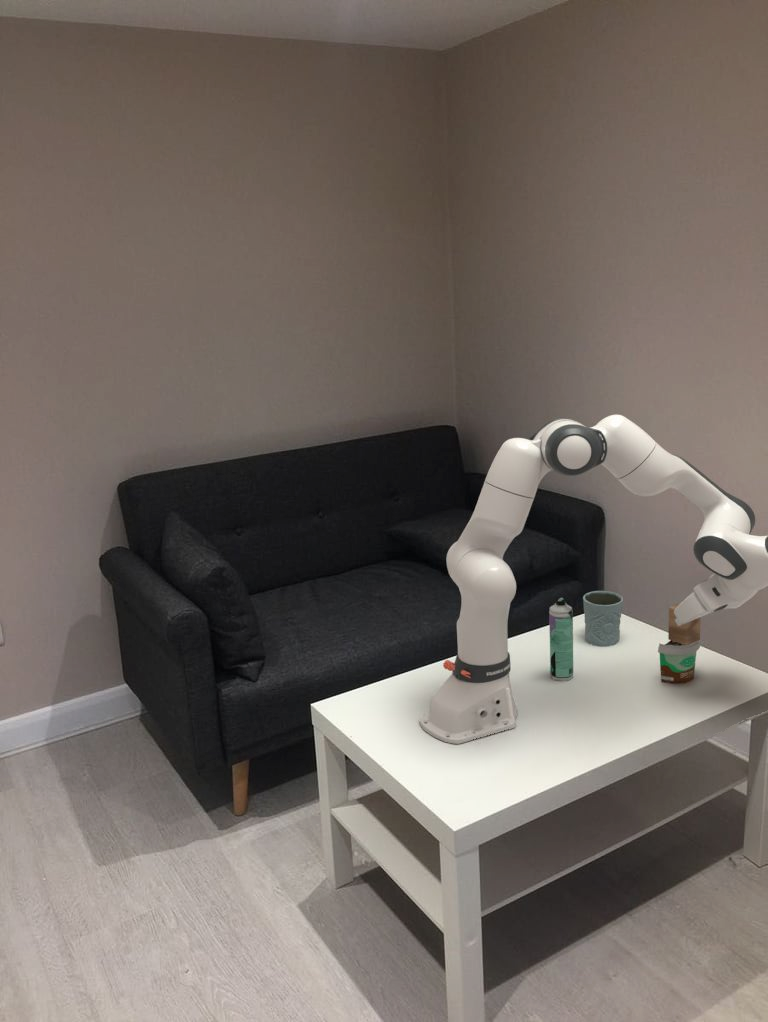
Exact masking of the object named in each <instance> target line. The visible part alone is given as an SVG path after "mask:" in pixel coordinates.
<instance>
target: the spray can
mask: <svg viewBox="0 0 768 1022" xmlns="http://www.w3.org/2000/svg"><path fill="white" fill-rule="evenodd" d="M548 612H549V613H548V614H549V615H548V616H549V617H548V619H549V663H550V664H549V665H550V668H549V669H550V670H549V671H550V673H549V674H550V678H551V679H552V680H553V681H558V682H559V681H560V682H567V681H569V680H572V679H573V678H574V627H573V626H574V621H573V620H574V618H573V615H574V613H573V607H572V606H570V605H569V604H567V602H566V601H565V598H564V597H557V599H556V602H554V604H553V605H551V606H550V607H549V611H548Z"/></svg>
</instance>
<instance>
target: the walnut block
mask: <svg viewBox="0 0 768 1022" xmlns="http://www.w3.org/2000/svg"><path fill="white" fill-rule="evenodd" d="M680 603H681V602H679V603H677V604H675V605H672V606H669V607H668V640H669V641H670V640H672V641H674V642H677V643H680V644H683V645H685V646H687V645H689V644H691V643H694V642H696V641H698V640H699V641H700V640H701V619H702V617H699V618H697V619H695V620H692V621H690V622H688V623H686V624H683V625H681V626H678V625H677V623H676V622H675V619H676V618H677V617H676V616H675V614H674V610H675V608H676V607H677V606H678V605H679V604H680Z"/></svg>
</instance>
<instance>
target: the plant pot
mask: <svg viewBox="0 0 768 1022" xmlns="http://www.w3.org/2000/svg"><path fill="white" fill-rule="evenodd" d="M582 600H583V602H582V603H583V613H584V634H585V641H586V642H587V643H588V644H589V643H590V645H591V644H592V646H595V645H596V647H611V646H610V645H612V646H615V645H616V643H617V642H618V643H619V642H620V631H621V630H620V627H621V618H622V612H623V611H622V610H623V601H624V598H623V596H621V595H620V594H619V593H617V592H613V591H606V590H594V591H590V592H587V593H585V594H584V595H583V597H582ZM618 643H617V644H618ZM614 644H615V645H614Z"/></svg>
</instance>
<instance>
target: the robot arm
mask: <svg viewBox="0 0 768 1022" xmlns="http://www.w3.org/2000/svg"><path fill="white" fill-rule="evenodd" d="M599 465H602V466H603V467H604V468H605V469H607V470H608V471H609V473H611V474H612V476H613V477H615V479H617V480H618V482H619V483H620V484H622V486H623V487H624V488H626V489H627V490H628V491H629V492H630V493H632V494H634V495H636V496H640V497H650V496H652V497H653V496H657V495H659V494H660V493H663V492H665V491H666V490H668V489H674V490H677V491H679V492H680V493H681V494H682V495H684V496H685V497H686V498H687V499H688V500H690V501H691V502H692V503H693V504H695V505H696V506H697V507H698V508H699V509H700V510H701V512H702V513H703V523H702V526H701V528H700V530H699V532H698V535H697V537H696V539H695V542H694V545H693V554H694V557H695V559H696V560H697V562H698V563H699V564H700V565H701V566H703V568H706V569H707V570H708V571H710V572H712V573H713V574H711V575H710V576H709V577H707V579H705V580H704V581H702V582H700V583H698V584H697V585H695V587H693V592H691V593H690V594H689V595H688V596H687V597H685V599H683V600H682V601H681V602H679V603H680V604H679V603H678V604H679V605H678V606H677V607H676V608H675V610H674V614H675V616H676V617H677V618H676V619H675V622H676V623H677V625H678V626H681V625H683V624H686V623H688V622H690V621H692V620H695V619H697V618H699V617H701V618H702V617H703V616H706V615H709V614H712V613H714V612H718V611H721V610H729V609H734V610H735V609H738V608H739V607H741V606H742V605H743V604H745V603H746V602H748V601H749V600H750V599H751V598H753V597H754V596H755V595H756V594H757V593H758V591H759V590H760V591H761V590H763V589H765V588H766V587H768V535H761V536H760V535H752V534H751V533H752V531H753V529H754V527H755V526H756V516H755V512H754V511H753V508H752V507H751V506H750V505H749V504H748V503H746V501H743V500H742V499H740V498H738V497H736V496H735V495H733V494H730V493H729V492H727V491H725V489H723V488H722V487H720V486H719V485H717V483H715V482H714V481H713V480H711V479H710V478H709V477H708V476H706V475H705V474H704V473H703V472H702V471H700V470H699V469H698V468H697V467H695V466H694V465H693V464H692V463H690V462H689V461H688V460H686V459H684V458H683V457H681V456H679V455H676V454H673V453H669V452H668V451H667V450H666V449H664V447H662V446H661V445H660V444H659V443H657V441H656V440H654V439H653V437H651V435H649V434H648V433H647V432H646V431H645V430H643V429H642V427H640V426H639V425H637V424H636V423H635V422H633V421H632V420H630V419H628V418H627V417H626V416H624V415H622V414H611V415H608V416H606V417H604V418H603V419H601V420H599V421H598V422H597V423H596V424H595V425H593V426H591V427H588V426H586V425H584V424H582V423H580V422H579V421H576V420H574V419H570V418H566V417H564V418H562V417H560V418H554V419H551V420H550V421H548V422H547V423H545V424H544V425H543V426H542V427H540V428H539V429H538V430H537V431H536V432H535V433H534V434H533V435H532V436H530V437H529V439H527V438H523V437H513V438H509V439H507V440H506V441H504V442H503V444H502V445H501V447H500V448H499V450H498V451H497V453H496V455H495V457H494V458H493V460H492V463H491V465H490V468H489V469H488V472H487V474H486V476H485V479H484V481H483V485H482V488H481V491H480V494H479V496H478V500H477V503H476V505H475V508H474V511H473V512H472V515H471V517H470V519H469V521H468V523H467V524H466V526H465V528H464V529H463V531H462V533H461V534H460V536H459V538H458V540H457V541H455V542H453V544H451V546H450V547H449V549H448V551H447V553H446V559H445V560H446V568H447V571H448V572H447V573H448V575H449V576H450V578H451V580H452V581H453V582H454V583H455V584H456V586H457V588H458V589H459V592H460V597H461V604H460V605H461V606H460V613H459V618H458V619H457V621H456V635H457V636H456V637H457V638H456V639H457V654H456V656H455V660H454V661H453V662H452V661H451V660H449V659H446V660H444V662H443V665H442V666H443V668H444V669H445V670H448V671H450V672H452V673H451V674H450V675H449V677H448V678H447V679H446V680H445V681H444V682H443V683H442V684H441V686H440V687H439V688H438V689H437V690H436V691H435V692H434V694H433V695H432V696H431V698H430V702H429V711H428V712H426V713H425V714H423V715H421V716H420V717H419V725H420V727H421V728H422V729H423V730H424V731H425V732H426V733H428V734H429V735H431V736H432V737H434V738H436V739H438V740H441V741H442V742H446V743H449V744H454V745H460V744H464V743H467V742H470V741H474V740H477V739H480V737H481V738H484V737H487V735H488V736H490V734H491V735H494V733H495V734H498V733H500V732H501V731H502V732H504V730H505V731H509V730H512V729H515V728H516V726H517V722H516V718H517V716H518V709H517V706H516V703H515V700H514V695H513V690H512V685H511V678H510V672H511V669H512V668H511V654H510V653H509V647H508V645H509V644H508V643H509V642H508V640H509V639H508V619H509V612H510V608H511V602H512V601H513V600H514V598H515V596H516V593H517V592H516V591H517V582H516V579H515V576H514V573H513V571H512V569H511V567H510V566H509V565H508V564H507V562H506V561H504V559H503V558H504V555H505V552H506V551H507V549H508V548H509V546H510V544H511V543H512V542H513V540H514V539H515V537H517V536H519V535H520V534H521V533H522V532H523V529H524V527H525V524H526V521H527V520H528V519H527V518H528V517H529V513H530V510H531V508H532V505H533V502H534V500H535V497H536V493H537V491H538V488H539V484H540V483H541V481H542V479H544V477H545V475H546V474H548V473H549V472H552V471H555V472H556V473H557V474H559V475H561V476H566V477H576V476H579V475H583V474H585V473H586V472H588V471H590V470H592V469H594V468H595V467H597V466H599ZM508 729H509V730H508ZM502 732H501V733H502ZM476 738H477V739H476ZM473 739H474V740H473Z"/></svg>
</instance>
